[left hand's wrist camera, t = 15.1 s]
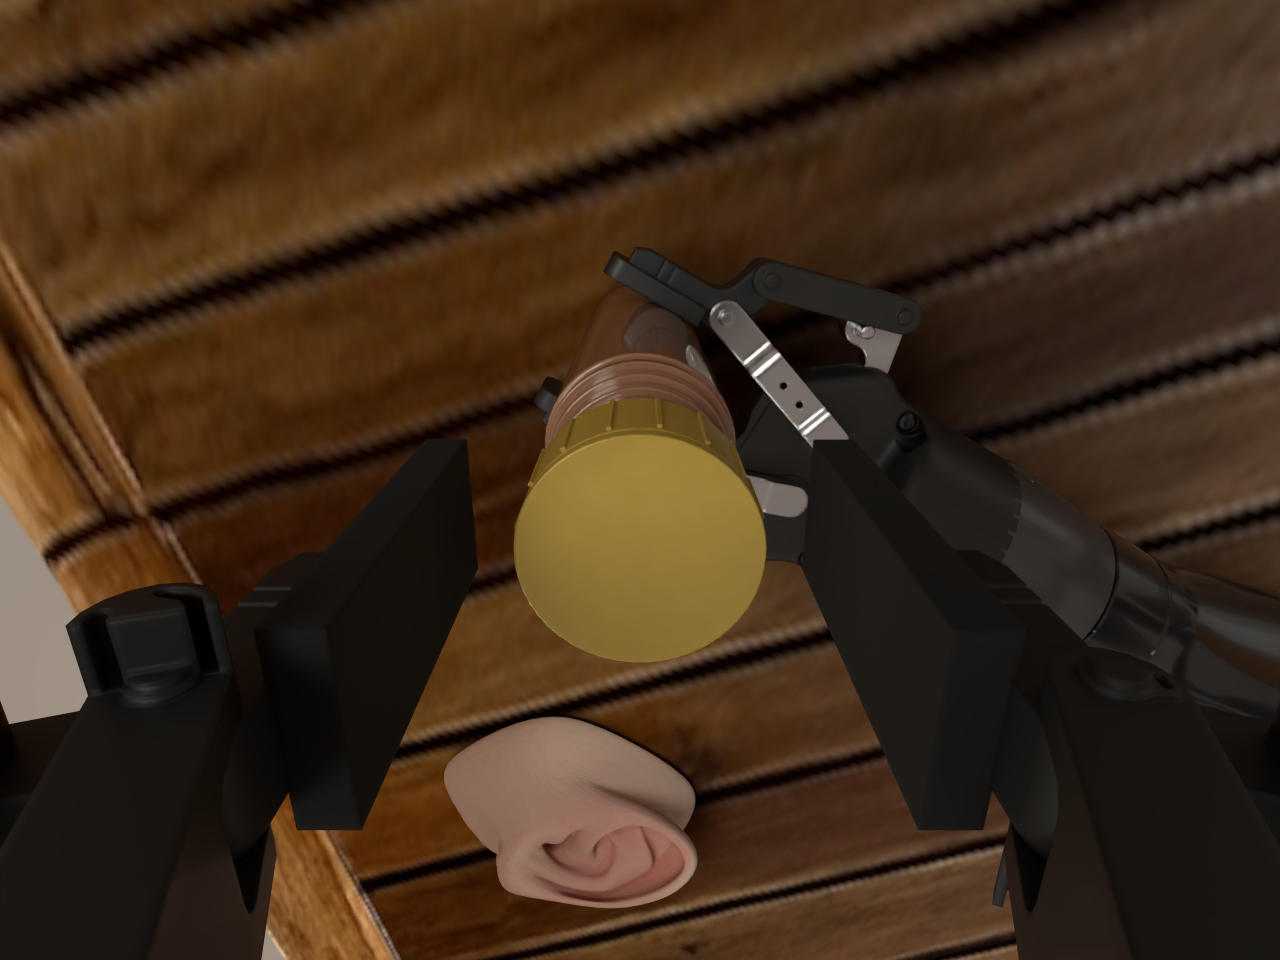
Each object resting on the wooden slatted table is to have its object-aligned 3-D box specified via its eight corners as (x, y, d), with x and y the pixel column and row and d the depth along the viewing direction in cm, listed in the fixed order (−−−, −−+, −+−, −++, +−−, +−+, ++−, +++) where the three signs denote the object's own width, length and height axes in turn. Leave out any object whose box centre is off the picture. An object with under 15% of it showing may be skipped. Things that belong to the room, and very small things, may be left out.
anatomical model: (390, 852, 37) (535, 719, 34) (413, 794, 41) (545, 669, 38) (583, 975, 41) (730, 863, 38) (588, 910, 44) (722, 804, 41)
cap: (570, 363, 13) (556, 395, 11) (783, 439, 14) (810, 483, 12) (505, 559, 15) (482, 622, 13) (701, 621, 15) (711, 693, 13)
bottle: (708, 361, 33) (810, 597, 13) (616, 403, 33) (581, 688, 14) (666, 265, 31) (710, 368, 11) (570, 311, 32) (458, 482, 12)
